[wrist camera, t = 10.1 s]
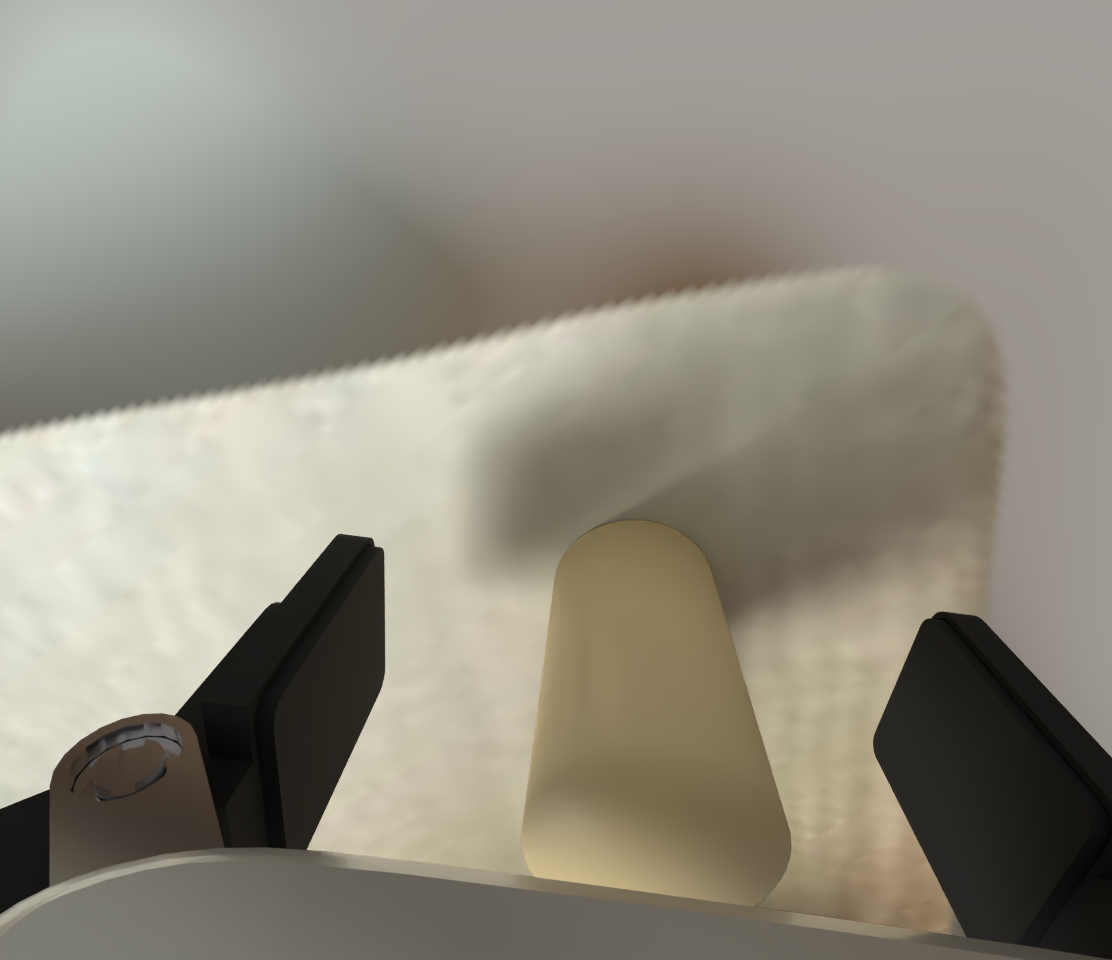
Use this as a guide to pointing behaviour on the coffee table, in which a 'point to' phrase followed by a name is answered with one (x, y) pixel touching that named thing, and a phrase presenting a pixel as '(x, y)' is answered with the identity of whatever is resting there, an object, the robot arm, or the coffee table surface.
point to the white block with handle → (648, 730)
